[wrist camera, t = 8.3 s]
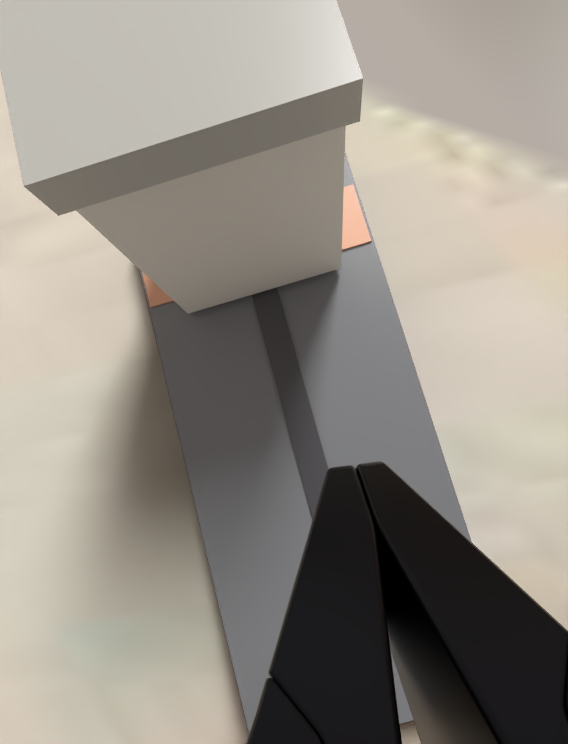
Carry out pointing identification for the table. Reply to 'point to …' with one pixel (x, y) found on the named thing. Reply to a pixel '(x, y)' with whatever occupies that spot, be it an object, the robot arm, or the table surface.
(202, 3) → the fader knob
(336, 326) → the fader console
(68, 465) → the table surface
